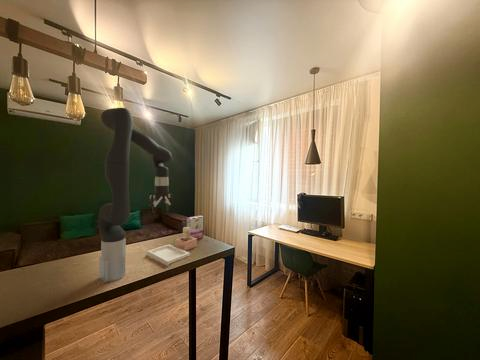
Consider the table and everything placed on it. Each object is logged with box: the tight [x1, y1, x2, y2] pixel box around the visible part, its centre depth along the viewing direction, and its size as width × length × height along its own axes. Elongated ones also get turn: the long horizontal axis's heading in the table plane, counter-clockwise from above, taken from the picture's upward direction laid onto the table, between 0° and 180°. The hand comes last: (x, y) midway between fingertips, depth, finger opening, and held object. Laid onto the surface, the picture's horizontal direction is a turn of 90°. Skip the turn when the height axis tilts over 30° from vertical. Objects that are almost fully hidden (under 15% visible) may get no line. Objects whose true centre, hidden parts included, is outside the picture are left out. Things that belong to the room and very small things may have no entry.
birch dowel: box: [182, 226, 190, 241], centre depth 123 cm, size 4×4×12 cm
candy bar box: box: [186, 215, 204, 240], centre depth 139 cm, size 11×5×16 cm, turn 132°
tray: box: [146, 244, 191, 267], centre depth 111 cm, size 14×20×2 cm
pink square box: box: [174, 236, 198, 252], centre depth 123 cm, size 9×9×6 cm
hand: (161, 212), depth 115 cm, fingers open, 8 cm apart
